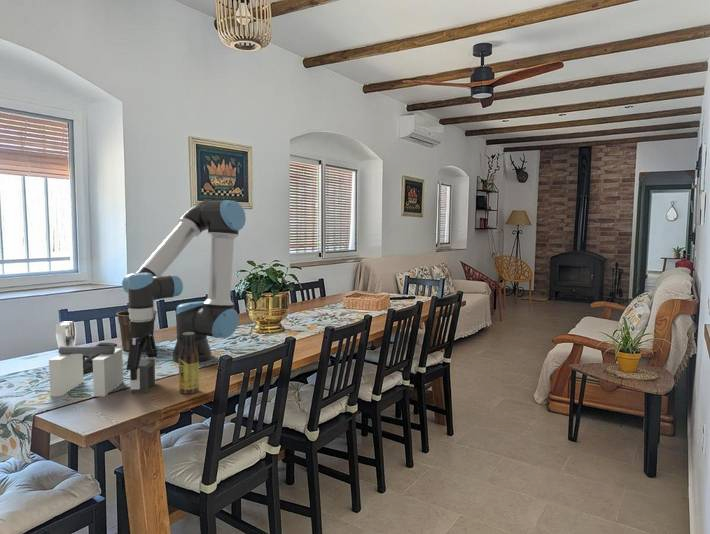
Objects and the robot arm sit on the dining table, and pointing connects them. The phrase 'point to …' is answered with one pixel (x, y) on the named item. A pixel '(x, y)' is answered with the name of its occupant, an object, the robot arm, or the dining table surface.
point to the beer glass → (66, 333)
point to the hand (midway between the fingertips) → (143, 382)
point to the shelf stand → (70, 369)
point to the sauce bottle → (188, 365)
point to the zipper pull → (89, 362)
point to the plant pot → (126, 328)
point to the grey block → (146, 375)
